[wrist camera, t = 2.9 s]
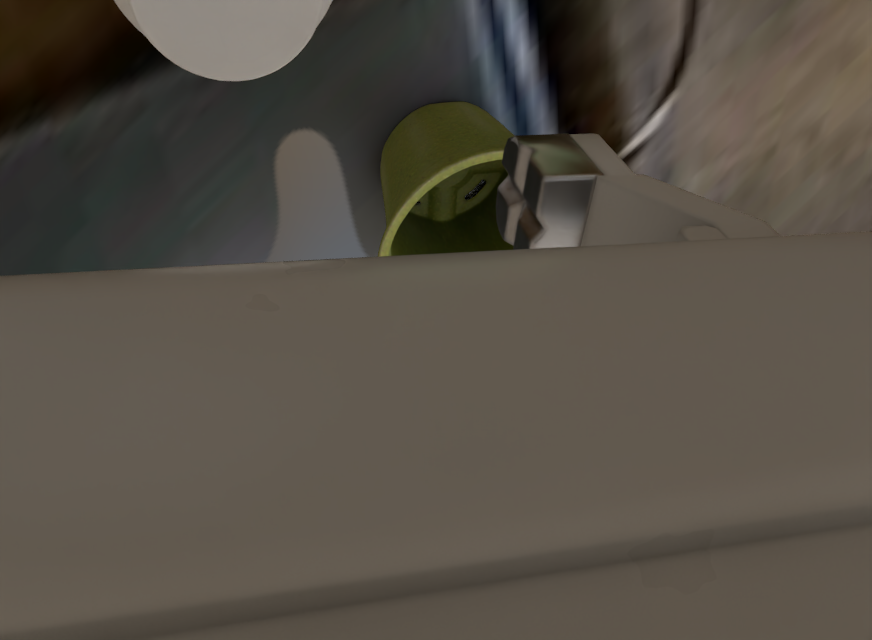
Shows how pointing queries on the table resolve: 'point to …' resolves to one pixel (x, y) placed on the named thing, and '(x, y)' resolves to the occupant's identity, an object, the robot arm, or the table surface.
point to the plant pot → (443, 181)
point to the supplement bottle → (227, 33)
